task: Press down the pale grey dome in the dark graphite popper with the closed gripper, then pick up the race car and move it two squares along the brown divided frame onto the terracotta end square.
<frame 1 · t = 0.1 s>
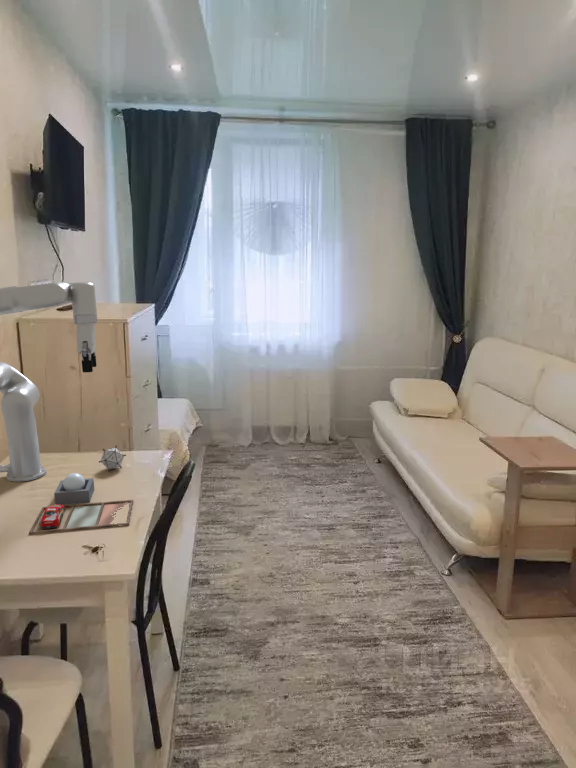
hand: (89, 369, 187), 37 cm above the table, tool pointing down, fingers open, 9 cm apart
game die: (113, 469, 196), on the table
dome: (74, 483, 171), point 5 cm above the table, slide at 0.0 cm
race car: (53, 521, 158), resting on brown divided frame
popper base: (75, 497, 173), on the table
brown divided frame: (84, 516, 159), on the table
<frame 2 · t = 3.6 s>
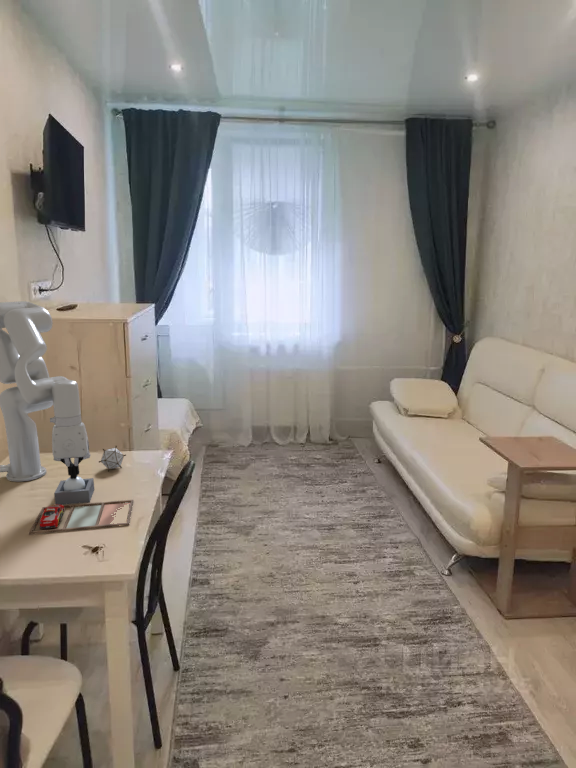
hand: (74, 476, 171), 7 cm above the table, tool pointing down, fingers closed
dome: (74, 486, 172), point 4 cm above the table, slide at 1.0 cm, touching gripper
everything else where it was.
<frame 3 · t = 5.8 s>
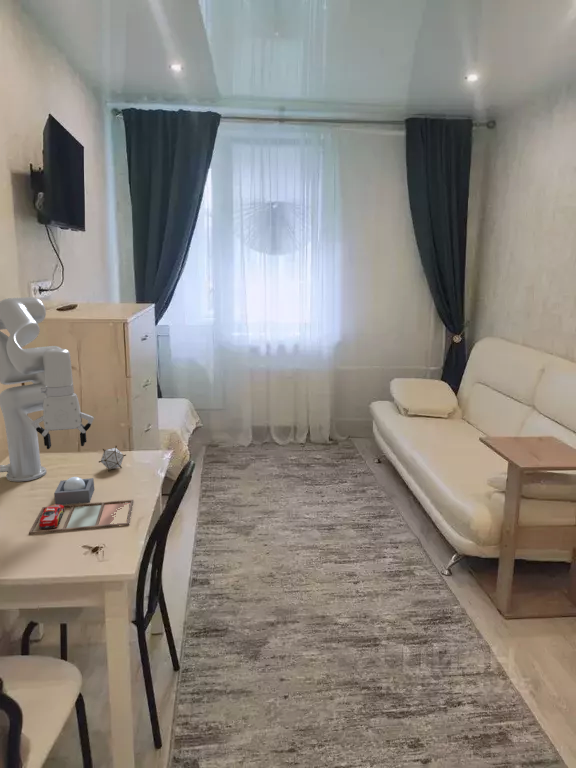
hand: (66, 446, 165), 18 cm above the table, tool pointing down, fingers open, 9 cm apart
dome: (74, 487, 172), point 3 cm above the table, slide at 1.3 cm
everything else where it was.
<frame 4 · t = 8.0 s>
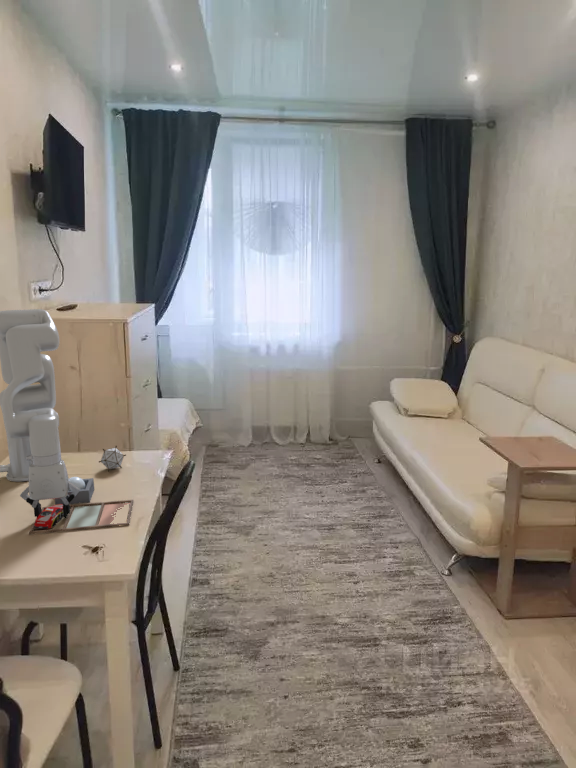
hand: (52, 516, 157), 1 cm above the table, tool pointing down, fingers open, 6 cm apart
race car: (52, 521, 158), resting on brown divided frame, touching gripper
everything else where it was.
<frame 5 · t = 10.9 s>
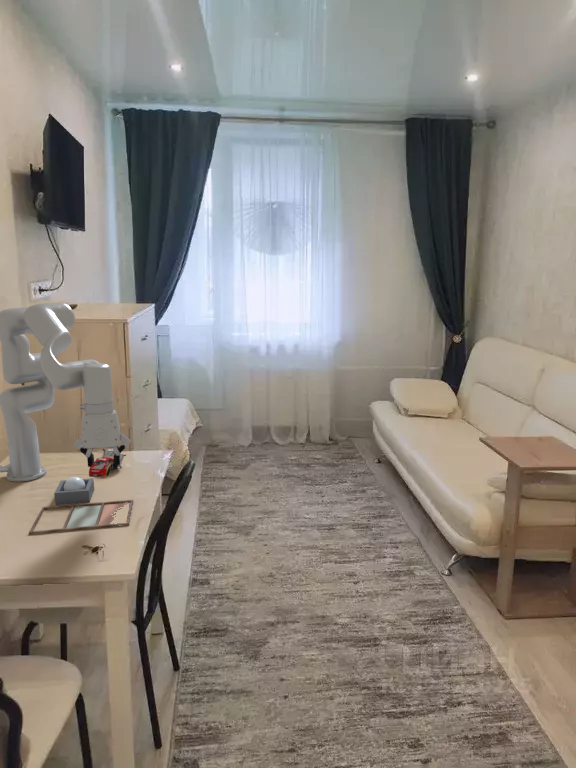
hand: (104, 467, 157), 15 cm above the table, tool pointing down, fingers closed on race car, 6 cm apart
race car: (104, 471, 157), point 14 cm above the table, touching gripper
everything else where it was.
when the fingers open (2 cm above the table, at t = 13.8 s): race car drops 1 cm, resting on brown divided frame.
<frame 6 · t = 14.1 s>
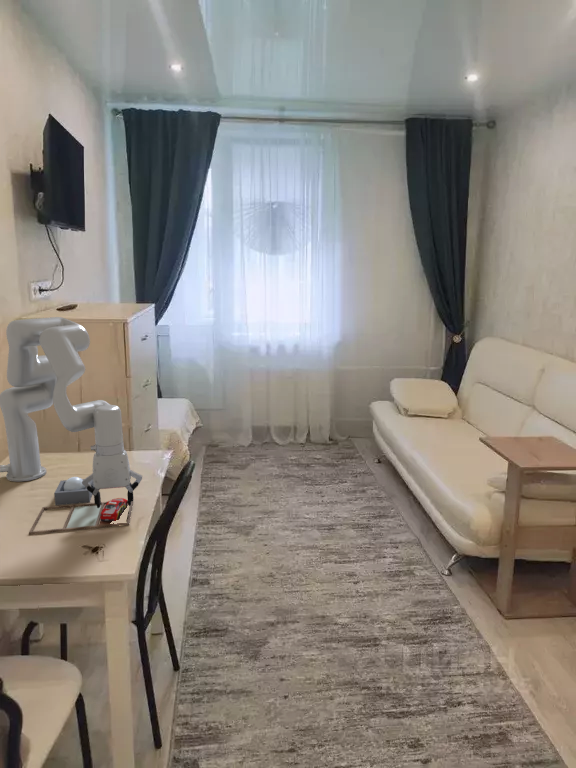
hand: (114, 504, 160), 3 cm above the table, tool pointing down, fingers open, 8 cm apart
race car: (114, 514, 161), resting on brown divided frame
everything else where it was.
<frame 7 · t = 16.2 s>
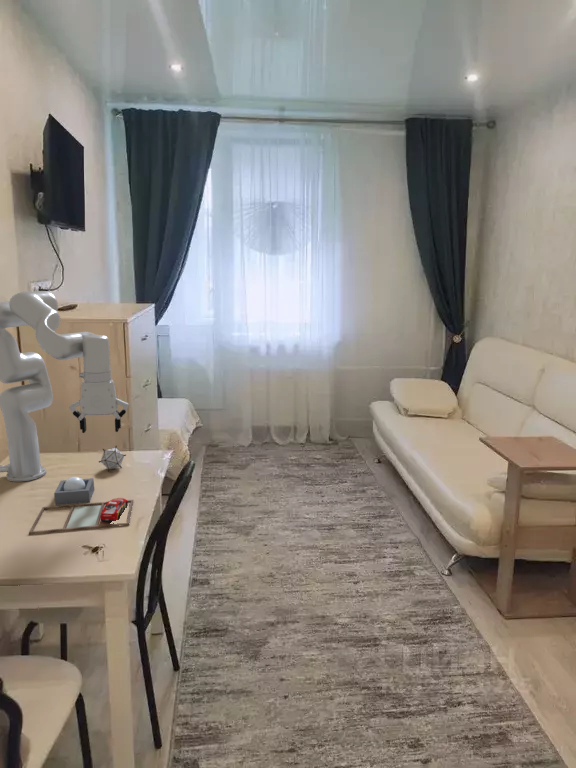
hand: (100, 431, 167), 22 cm above the table, tool pointing down, fingers open, 9 cm apart
nothing on the table moved.
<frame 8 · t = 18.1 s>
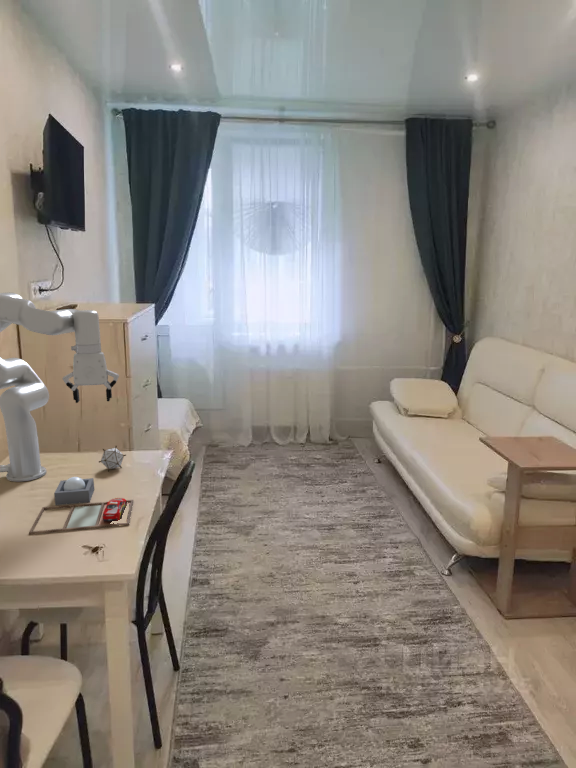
hand: (93, 401, 178), 28 cm above the table, tool pointing down, fingers open, 9 cm apart
nothing on the table moved.
at the end: dome slide at 1.3 cm; race car 0.1 cm from the target spot on the brown divided frame, point 0.0 cm above the brown divided frame's base; the gripper is holding nothing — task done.
